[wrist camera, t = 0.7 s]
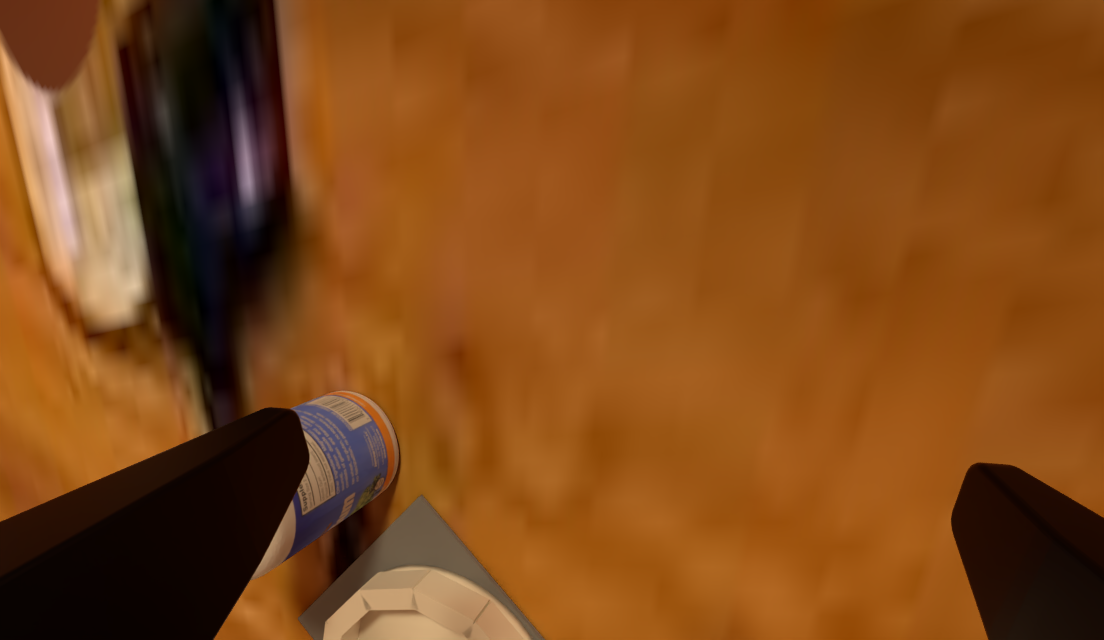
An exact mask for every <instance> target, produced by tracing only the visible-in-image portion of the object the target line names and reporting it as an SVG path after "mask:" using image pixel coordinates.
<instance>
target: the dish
mask: <svg viewBox="0 0 1104 640" xmlns="http://www.w3.org/2000/svg"><path fill="white" fill-rule="evenodd" d="M323 640H533V638H532V636H531V635H530V633H529V632H528V631H527V630H526V628H525V627H524V626H523V624H522V623H521V622H520V620H519V619H518V618H517V617H516V616H515V615H514V614H513V613H512V612H511V611H510V610H509V609H508V608H507V607H506V606H505V605H504V604H503V603H502V602H501V601H500V600H498V599H497V598H496V597H495V596H494V595H492V594H491V593H490V592H488V591H487V590H485V589H484V588H483V587H481V586H480V585H478V584H476V583H475V582H473V581H471V580H469V579H468V578H466V577H464V576H461V575H459V574H457V573H454V572H452V571H449V570H446V569H442V568H439V567H434V566H428V565H404V566H397V567H394V568H391V569H388V570H386V571H384V572H379V573H377V574H376V575H375V576H374V577H372V578H371V579H370V580H369V581H368V582H367V583H366V584H365V585H364V586H362V587H361V588H360V589H359V590H358V591H357V592H356V593H355V594H354V595H353V596H352V597H351V598H350V599H349V600H348V601H347V602H345V603H344V604H343V605H342V606H341V607H340V608H339V609H338V610H337V611H336V612H335V613H334V614H333V615H332V616H331V617H330V618H329V619H328V620H327V621H326V622H325V629H324V637H323Z"/></svg>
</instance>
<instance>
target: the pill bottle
mask: <svg viewBox="0 0 1104 640" xmlns="http://www.w3.org/2000/svg"><path fill="white" fill-rule="evenodd" d="M291 409H292V410H294V411H295V412H296V413H297V414H298V416H299V418H300V421H301V425H302V428H303V432H304V435H305V439H306V442H307V446H308V449H309V453H310V460H309V465H308V469H307V471H306V473H305V475H304V477H303V479H302V481H301V483H300V485H299V487H298V489H297V492H296V494H295V496H294V498H293V500H292V502H291V504H290V506H289V508H288V510H287V512H286V514H285V516H284V518H283V520H282V522H281V524H280V526H279V528H278V530H277V532H276V534H275V536H274V538H273V540H272V542H271V544H270V546H269V548H268V550H267V552H266V553H265V555H264V557H263V559H262V561H261V563H260V565H259V566H258V568H257V570H256V571H255V573H254V575H253V576H252V578H251V580H253V579H256V578H259V577H261V576H263V575H265V574H266V573H268V572H269V571H271V570H272V569H274V568H275V567H277V566H278V565H280V564H281V563H283V562H284V561H286V560H287V559H288V558H290V557H291V556H293V555H294V554H296V553H297V552H299V551H300V550H301V549H303V548H304V547H306V546H307V545H309V544H310V543H312V542H313V541H314V540H316V539H317V538H319V537H320V536H321V535H323V534H324V533H326V532H327V531H329V530H330V529H332V528H333V527H334V526H336V525H337V524H339V523H340V522H342V521H343V520H345V519H346V518H347V517H349V516H350V515H352V514H353V513H355V512H356V511H357V510H359V509H360V508H362V507H363V506H364V505H366V504H367V503H369V502H370V501H372V500H373V499H375V498H376V497H377V496H378V495H380V494H381V493H382V492H383V491H384V490H385V489H387V487H388V486H389V485H390V484H391V482H392V481H393V479H394V477H395V474H396V472H397V468H398V462H399V448H398V443H397V438H396V435H395V432H394V429H393V427H392V425H391V423H390V421H389V419H388V418H387V416H386V415H385V413H384V412H383V411H382V410H381V408H380V407H379V406H378V405H377V404H376V403H374V402H373V401H372V400H370V399H369V398H367V397H365V396H363V395H361V394H358V393H355V392H350V391H337V392H332V393H329V394H326V395H323V396H321V397H318V398H316V399H313V400H311V401H308V402H306V403H303V404H301V405H298V406H296V407H293V408H291Z"/></svg>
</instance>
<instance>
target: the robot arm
mask: <svg viewBox="0 0 1104 640" xmlns="http://www.w3.org/2000/svg"><path fill="white" fill-rule="evenodd" d="M309 460H310V453H309V449H308V446H307V442H306V439H305V435H304V432H303V428H302V425H301V421H300V418H299V416H298V414H297V413H296V412H295V411H294V410H292V409H285V408H272V407H269V408H264V409H262V410H259V411H257V412H255V413H252V414H250V415H248V416H245V417H243V418H241V419H238V420H236V421H234V422H231V423H229V424H227V425H224V426H222V427H220V428H217V429H215V430H213V431H210V432H208V433H206V434H203V435H201V436H199V437H197V438H194V439H192V440H190V441H187V442H185V443H183V444H180V445H178V446H176V447H173V448H171V449H169V450H166V451H164V452H162V453H159V454H157V455H155V456H152V457H150V458H148V459H145V460H143V461H141V462H138V463H136V464H134V465H131V466H129V467H127V468H124V469H122V470H120V471H117V472H115V473H113V474H110V475H108V476H106V477H103V478H101V479H99V480H96V481H94V482H92V483H90V484H87V485H85V486H83V487H80V488H78V489H76V490H73V491H71V492H69V493H66V494H64V495H62V496H59V497H57V498H55V499H52V500H50V501H48V502H45V503H43V504H41V505H38V506H36V507H34V508H31V509H29V510H27V511H24V512H22V513H20V514H17V515H15V516H13V517H10V518H8V519H6V520H3V521H1V522H0V640H214V638H215V636H216V635H217V633H218V632H219V630H220V628H221V627H222V625H223V623H224V622H225V620H226V619H227V617H228V615H229V614H230V612H231V611H232V609H233V607H234V606H235V604H236V602H237V601H238V599H239V598H240V596H241V594H242V593H243V591H244V590H245V588H246V586H247V585H248V583H249V581H250V580H251V578H252V576H253V575H254V573H255V571H256V570H257V568H258V566H259V565H260V563H261V561H262V559H263V557H264V555H265V553H266V552H267V550H268V548H269V546H270V544H271V542H272V540H273V538H274V536H275V534H276V532H277V530H278V528H279V526H280V524H281V522H282V520H283V518H284V516H285V514H286V512H287V510H288V508H289V506H290V504H291V502H292V500H293V498H294V496H295V494H296V492H297V489H298V487H299V485H300V483H301V481H302V479H303V477H304V475H305V473H306V471H307V469H308V465H309ZM951 526H952V531H953V535H954V538H955V541H956V544H957V547H958V550H959V553H960V556H961V559H962V562H963V565H964V568H965V571H966V574H967V577H968V580H969V583H970V586H971V589H972V592H973V595H974V598H975V601H976V604H977V607H978V610H979V613H980V616H981V619H982V622H983V625H984V628H985V631H986V634H987V637H988V640H1104V518H1103V517H1101V516H1100V515H1098V514H1096V513H1095V512H1093V511H1091V510H1089V509H1088V508H1086V507H1084V506H1083V505H1081V504H1079V503H1077V502H1076V501H1074V500H1072V499H1071V498H1069V497H1067V496H1065V495H1064V494H1062V493H1060V492H1059V491H1057V490H1055V489H1054V488H1052V487H1050V486H1048V485H1047V484H1045V483H1043V482H1042V481H1040V480H1038V479H1036V478H1035V477H1033V476H1031V475H1030V474H1028V473H1026V472H1025V471H1023V470H1021V469H1019V468H1017V467H1015V466H1012V465H1005V464H992V463H976V464H973V465H972V466H971V467H970V468H969V469H968V471H967V473H966V475H965V478H964V481H963V483H962V486H961V489H960V492H959V494H958V497H957V500H956V503H955V506H954V508H953V511H952V517H951Z"/></svg>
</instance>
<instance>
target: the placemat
mask: <svg viewBox="0 0 1104 640" xmlns="http://www.w3.org/2000/svg"><path fill="white" fill-rule="evenodd" d="M404 565H428V566H434V567H439V568H442V569H446V570H449V571H452V572H454V573H457V574H459V575H461V576H464V577H466V578H468V579H469V580H471V581H473V582H475V583H476V584H478V585H480V586H481V587H483V588H484V589H485V590H487V591H488V592H490V593H491V594H492V595H494V596H495V597H496V598H497V599H498V600H500V601H501V602H502V603H503V604H504V605H505V606H506V607H507V608H508V609H509V610H510V611H511V612H512V613H513V614H514V615H515V616H516V617H517V618H518V619H519V620H520V622H521V623H522V624H523V626H524V627H525V628H526V630H527V631H528V632H529V633H530V635H531V636H532V638H533V640H545V639H544V638H543V637H542V636H541V635H540V633H539V632H538V631H537V630H536V629H535V628H534V626H533V625H532V624H531V623H530V622H529V620H528V619H527V618H526V617H525V616H524V615H523V613H522V612H521V611H520V610H519V609H518V607H517V606H516V605H515V604H514V603H513V602H512V600H511V599H510V598H509V597H508V596H507V595H506V593H505V592H504V591H503V590H502V589H501V587H500V586H499V585H498V584H497V583H496V582H495V580H494V579H493V578H492V577H491V576H490V574H489V573H488V572H487V571H486V570H485V569H484V567H483V566H482V565H481V564H480V563H479V562H478V560H477V559H476V558H475V557H474V556H473V554H472V553H471V552H470V551H469V550H468V549H467V547H466V546H465V545H464V544H463V543H462V541H461V540H460V539H459V538H458V537H457V536H456V534H455V533H454V532H453V531H452V530H451V529H450V527H449V526H448V525H447V524H446V523H445V521H444V520H443V519H442V518H441V517H440V516H439V514H438V513H437V512H436V511H435V510H434V508H433V507H432V506H431V505H430V504H429V503H428V501H427V500H426V499H425V498H424V497H423V496H422V495H421V496H420V497H418V498H417V499H416V500H415V501H414V502H413V503H412V505H411V506H410V507H409V508H408V509H407V510H406V511H405V512H404V513H403V514H402V515H401V516H400V517H399V518H398V519H397V520H396V521H395V522H394V523H393V524H392V525H391V526H390V527H389V528H388V529H387V530H386V531H385V532H384V533H383V534H382V535H381V536H380V537H379V538H378V539H377V540H376V541H375V542H374V543H373V544H372V545H371V546H370V547H369V548H368V549H367V550H366V551H365V552H364V553H363V554H362V555H361V556H360V557H359V558H358V559H357V560H356V561H355V562H354V563H353V564H352V565H351V566H350V567H349V568H348V569H347V570H346V571H345V572H344V573H343V574H342V575H341V576H340V577H339V578H338V579H337V580H336V581H335V582H334V583H333V584H332V585H331V586H330V587H329V588H328V589H327V590H326V591H325V592H324V593H323V594H322V595H321V596H320V597H319V598H318V599H317V600H316V601H315V602H314V603H313V604H312V605H311V606H310V607H309V608H308V609H307V610H306V611H305V612H304V613H303V614H302V615H301V616H300V617H299V618H298V620H299V621H300V622H301V624H302V625H303V626H304V628H305V629H306V630H307V631H308V633H309V634H310V635H311V637H312V638H313V639H314V640H323V637H324V629H325V622H326V621H327V620H328V619H329V618H330V617H331V616H332V615H333V614H334V613H335V612H336V611H337V610H338V609H339V608H340V607H341V606H342V605H343V604H344V603H345V602H347V601H348V600H349V599H350V598H351V597H352V596H353V595H354V594H355V593H356V592H357V591H358V590H359V589H360V588H361V587H362V586H364V585H365V584H366V583H367V582H368V581H369V580H370V579H371V578H372V577H374V576H375V575H376V574H377V573H379V572H384V571H386V570H388V569H391V568H394V567H397V566H404Z"/></svg>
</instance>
